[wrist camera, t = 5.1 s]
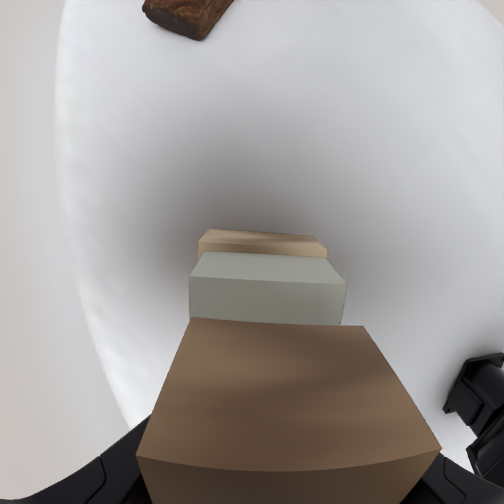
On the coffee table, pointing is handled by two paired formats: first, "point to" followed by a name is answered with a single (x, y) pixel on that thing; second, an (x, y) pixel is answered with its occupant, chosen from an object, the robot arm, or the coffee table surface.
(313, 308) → the tower top
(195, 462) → the walnut block
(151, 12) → the brick
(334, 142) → the coffee table surface
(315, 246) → the tower base
